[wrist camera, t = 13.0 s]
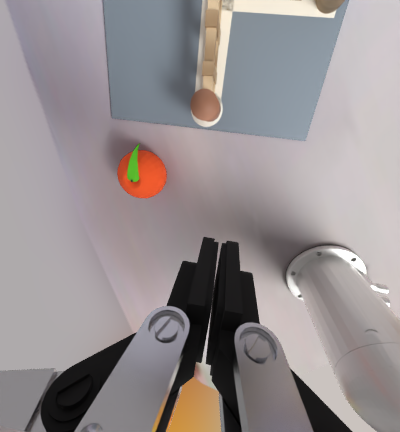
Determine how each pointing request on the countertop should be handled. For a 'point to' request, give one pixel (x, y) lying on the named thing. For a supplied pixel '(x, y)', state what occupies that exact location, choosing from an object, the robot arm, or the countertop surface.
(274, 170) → the countertop surface
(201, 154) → the countertop surface
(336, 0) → the fence fixed section
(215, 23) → the fence panel
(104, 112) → the countertop surface
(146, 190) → the clementine
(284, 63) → the card
